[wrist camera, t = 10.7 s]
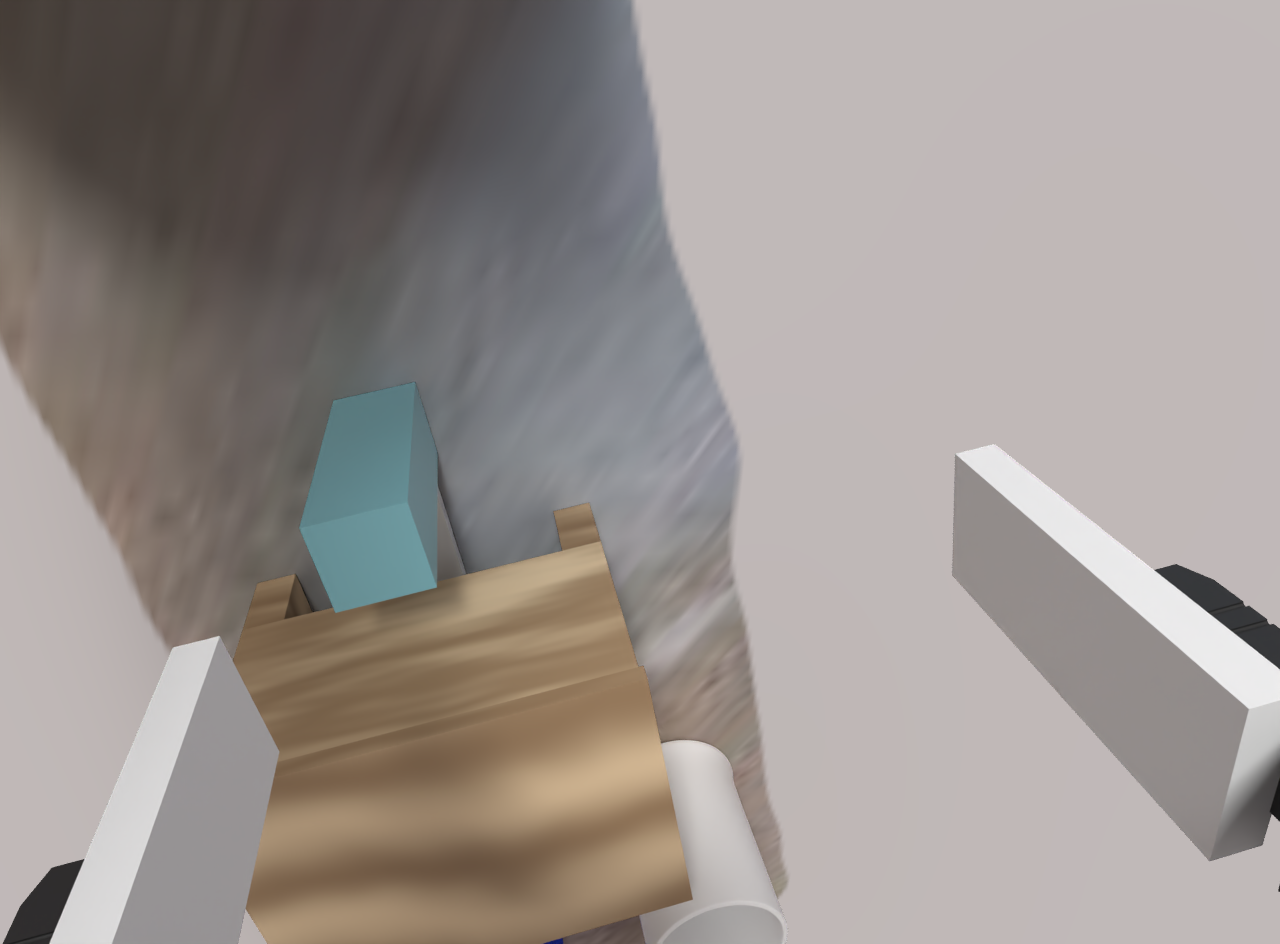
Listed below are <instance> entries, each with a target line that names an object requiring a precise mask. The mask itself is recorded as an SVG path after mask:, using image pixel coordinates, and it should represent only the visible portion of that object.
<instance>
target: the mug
mask: <svg viewBox="0 0 1280 944" xmlns="http://www.w3.org/2000/svg"><path fill="white" fill-rule="evenodd" d="M661 747H662V752H663V756H664V761H665V766H666V771H667V776H668V781H669V786H670V790H671V795H672V800H673V805H674V810H675V815H676V820H677V824H678V829H679V834H680V839H681V844H682V849H683V853H684V858H685V863H686V868H687V873H688V878H689V883H690V887H691V892H692V897H693V900H690V901H687V902H683V903H680V904H676V905H673V906H670V907H666V908H663V909H659V910H656V911H652V912H649V913H646V914H642V915H639V916H640V921H641V925H642V930H643V934H644V939H645V944H785V943H786V940H787V935H788V929H787V924H786V921H785V918H784V916H783V913H782V910H781V907H780V905H779V902H778V899H777V897H776V894H775V891H774V889H773V886H772V883H771V881H770V878H769V875H768V873H767V870H766V868H765V865H764V862H763V860H762V857H761V854H760V852H759V849H758V846H757V844H756V841H755V838H754V836H753V833H752V830H751V828H750V825H749V823H748V820H747V817H746V815H745V812H744V809H743V807H742V804H741V801H740V799H739V796H738V793H737V790H736V787H735V784H734V780H733V771H732V767H731V765H730V762H729V761H728V759H727V758H726V756H725V755H724V754H723V753H722V752H721V751H720V750H718V749H717V748H715V747H714V746H712V745H709V744H707V743H704V742H700V741H694V740H675V741H669V742H665V743H661Z"/></svg>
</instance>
